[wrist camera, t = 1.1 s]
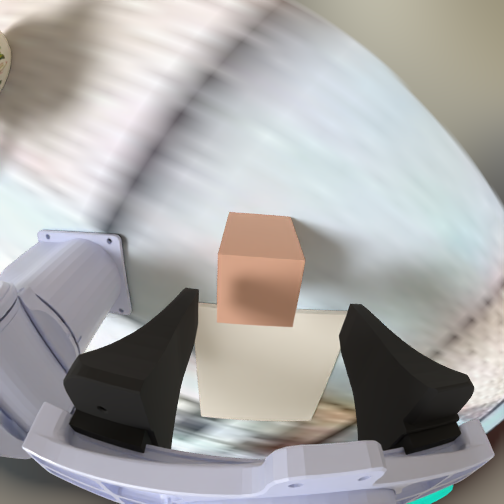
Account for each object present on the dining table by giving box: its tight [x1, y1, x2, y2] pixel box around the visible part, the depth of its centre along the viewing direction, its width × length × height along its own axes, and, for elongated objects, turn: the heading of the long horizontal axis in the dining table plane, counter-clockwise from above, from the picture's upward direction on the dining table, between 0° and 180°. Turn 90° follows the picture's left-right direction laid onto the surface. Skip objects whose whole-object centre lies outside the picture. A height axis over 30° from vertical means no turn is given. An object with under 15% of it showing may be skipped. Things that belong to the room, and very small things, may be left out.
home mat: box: [195, 302, 348, 421], centre depth 28 cm, size 14×18×1 cm
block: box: [217, 212, 305, 327], centre depth 19 cm, size 4×4×7 cm
